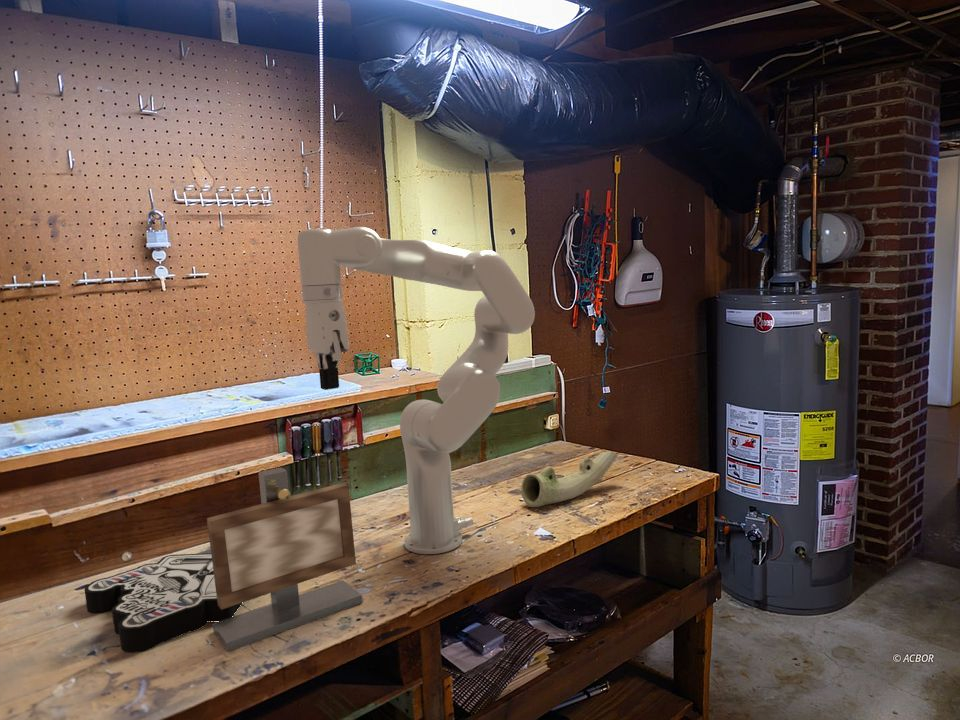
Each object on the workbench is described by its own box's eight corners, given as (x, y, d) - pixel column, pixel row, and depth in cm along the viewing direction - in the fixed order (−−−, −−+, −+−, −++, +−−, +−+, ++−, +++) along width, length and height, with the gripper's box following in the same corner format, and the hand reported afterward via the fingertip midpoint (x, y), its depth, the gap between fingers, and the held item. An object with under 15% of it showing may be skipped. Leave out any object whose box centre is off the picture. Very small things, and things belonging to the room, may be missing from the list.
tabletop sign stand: (343, 587, 130) (332, 455, 127) (362, 602, 124) (351, 464, 120) (213, 631, 117) (197, 484, 113) (227, 651, 110) (210, 496, 107)
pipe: (541, 515, 163) (539, 474, 161) (518, 506, 169) (516, 467, 168) (620, 487, 179) (619, 449, 178) (596, 480, 186) (595, 444, 185)
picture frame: (351, 560, 126) (343, 482, 124) (355, 564, 125) (348, 485, 123) (217, 605, 113) (206, 518, 110) (221, 609, 111) (210, 521, 109)
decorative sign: (78, 584, 129) (232, 534, 149) (81, 606, 129) (234, 554, 150) (127, 636, 109) (297, 571, 129) (131, 662, 109) (299, 593, 130)
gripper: (357, 293, 128) (364, 390, 130) (324, 293, 140) (332, 381, 142) (319, 296, 123) (327, 396, 126) (289, 295, 135) (297, 386, 138)
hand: (330, 388), depth 134 cm, fingers closed
